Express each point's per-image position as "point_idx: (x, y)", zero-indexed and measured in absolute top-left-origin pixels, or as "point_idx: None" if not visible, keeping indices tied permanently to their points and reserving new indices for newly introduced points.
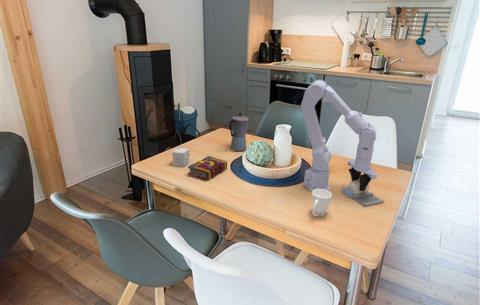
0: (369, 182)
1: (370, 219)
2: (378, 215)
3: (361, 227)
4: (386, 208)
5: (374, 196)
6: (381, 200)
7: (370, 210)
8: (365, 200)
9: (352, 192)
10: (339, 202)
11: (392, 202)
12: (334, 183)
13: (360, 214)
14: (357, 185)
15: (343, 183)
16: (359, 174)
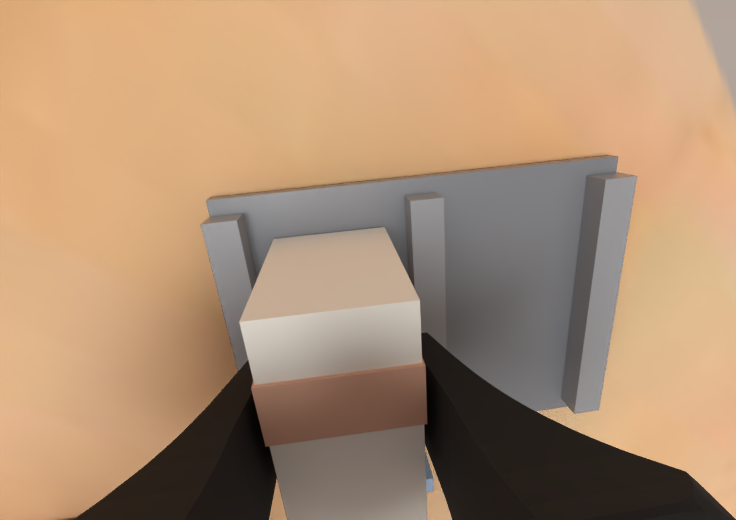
0: (417, 300)
1: (709, 420)
2: (709, 339)
3: (732, 505)
4: (677, 198)
5: (464, 185)
6: (617, 203)
7: (625, 359)
8: (499, 331)
9: (431, 481)
10: (429, 514)
11: (630, 25)
12: (52, 430)
13: (627, 451)
14: (424, 494)
15: (49, 340)
16: (216, 513)
